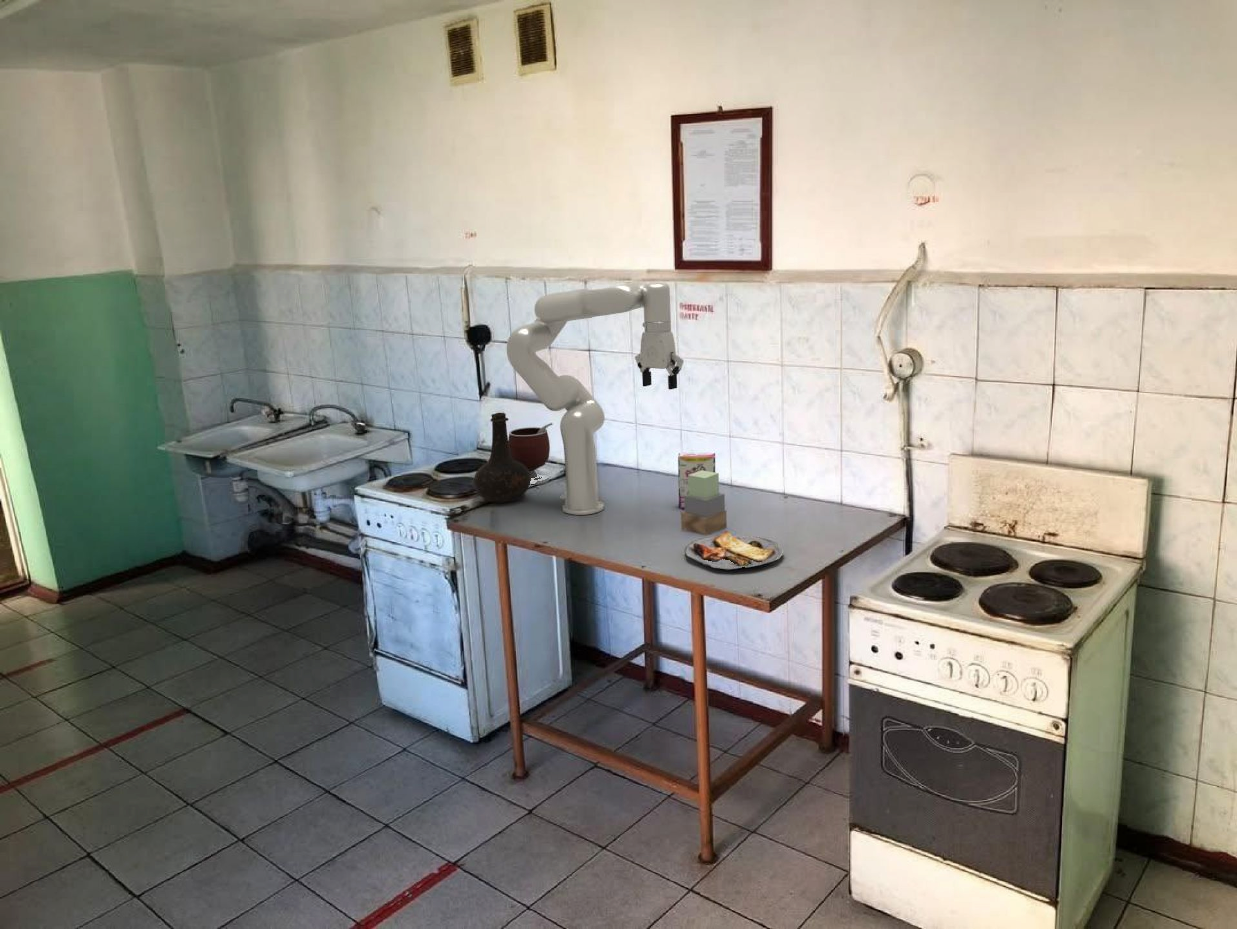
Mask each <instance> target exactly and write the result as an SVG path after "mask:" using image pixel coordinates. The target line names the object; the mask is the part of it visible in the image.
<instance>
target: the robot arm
mask: <svg viewBox="0 0 1237 929" xmlns="http://www.w3.org/2000/svg"><path fill="white" fill-rule="evenodd" d="M670 290H671V287H670V285H669V284H668V283H666V282H653V283H652V282H650V283H645V282H635V281H633V282H629V283H624V284H620V285H615V286H610V287H604V288H598V289H597V288H596V289H588V288H580V289H575V290H568V291H561V292H553V293H548V294H545V295H543V296H540V298H538V299H537V300H536V302H535V304H534V314H535V316H536V318H535V320H534V322H532V323H530V324H529V323H528V324H525V325H522V326H519V327H517V328H515V329H514V330H513V331H512V332H511V333H510V335H509V337H508V340H507V343H506V357H507V359H508V361H509V364H510V365H511V367H512V369H514V370H515V372H516V373H517V374H518V376H520V377H521V378H522V380H523V381H524V382H525V383H526V384H527V386H528V388H530V390H532V392H533V394H535V395H536V397H537V398H538V399H539V400H540V402H541V403H542V404H543V405H544V406H545V407H546V409H547V410H549V411H551V412H559V411H560V412H561V411H562V410H564V409H565V410H566V412H565V413H564V414H563V415H562V417H561V420H560V424H559V428H560V435H561V439H562V444H563V452H564V454H563V455H564V466H565V467H564V469H565V483H566V486H565V487H566V490H564V491H563V492H562V494H561V495H560V496H559V498H560V500H564V502H565V503H564V504H562V511H563V512H564V513H565V514H568V515H577V516H579V515H580V516H583V515H586V516H587V515H591V514H596V513H599V512H601V511H603V510H604V509H605V504H604V502H602V501H600V500H599V487H598V468H597V451H596V450H597V449H596V444H595V442H594V441H595V440H594V438H593V434H594V433H595V432H597V431H599V430H600V429H601V428H602V427H603V425H604V423H605V412H604V410H603V408H602V406H601V405H600V404H599V403H598V401H597V400H596V399H595V398H594V397H593V395H592V394H591V393H590V392H589V390H588V389H587V388H586V387H585V386H584V384H582V382H581V381H580V380H579V379H577V378H575V377H574V376H572V375H568V374H564V375H559V376H558V374H556V372H554V371H553V369H552V368H551V366H550V365H549V364H548V363H547V362H546V361H544V360H543V359H542V358H541V357H539V355H538V354H537V352H540V351H543V350H545V349H548V348H549V347H550V346H551V345H552V344H553V343H554V341H555V340H556V339H557V337H558V336H559V335H560V333H561V331H562V330H563V329H564V327H565V325H566V324H567V323H568V322H570V321H577V320H578V321H579V320H585V319H586V320H587V319H592V318H594V317H604V316H608V315H615V314H616V315H617V314H622V313H627V312H631V311H633V310H637V309H643V323H642V327H643V328H644V332H643V331H642V334H641V339H640V353H638V354H637V355H635V357H634V359H635V361H636V364H637V367H638V368H639V371H640V373H641V374H642V375H641V377H642V379H641V380H642V387H649V386H652V385H653V384H652V372H651V369H660V370H663V369H666V371H667V372H668V374H669V375H667V389H668V390H675V389H677V388H678V375H679V374H680V372H681V370H682V367H683V365H684V362H685V361H684V359H683V358H681V357H680V356H679V355H677V353H676V352H677V351H676V345H675V344H676V343H675V338H674V334H673V332H672V322H671V321H672V317H671V291H670Z"/></svg>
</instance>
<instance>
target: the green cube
mask: <svg viewBox="0 0 1237 929" xmlns="http://www.w3.org/2000/svg"><path fill="white" fill-rule="evenodd" d="M719 478H720V477H719V473H718V472H715V473H714V472H708V471H703V470H701V471H698V472H695V473H693V474H690V475H688V483H689V496H693V497H698V498H703V499H708V498H710V497H713V496H715V495H718V494H719V493H720V488H719V487H720V483H719V482H720V481H719Z"/></svg>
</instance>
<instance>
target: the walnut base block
mask: <svg viewBox="0 0 1237 929" xmlns="http://www.w3.org/2000/svg"><path fill="white" fill-rule="evenodd" d="M680 516H681V518H680V519H681V521H680V522H681V524H680V525H681V530H684V529H685V530H684V531H689V532H692V533H696V534H700V535H704V536H708V535H710V534H712V533H715V532H718V531H720V530H723V529H725V528H728V527H727V525H728V524H727V510H725V511H723V512H721V513H718V514H715V515H713V516H710V517H708V518H705V517H701V516H697V515H692V514H688V513H685V511H682V512H681V513H680Z"/></svg>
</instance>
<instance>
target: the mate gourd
mask: <svg viewBox="0 0 1237 929" xmlns="http://www.w3.org/2000/svg"><path fill="white" fill-rule="evenodd" d="M553 424H554V423H553V422H549V423H548V424H545V425H544V426H542V427H538V426H537V427H535V426H534V427H533V426H532V427H531V426H530V427H529V426H528V427H521V428H515V429H512V430H509V432H508V442H509V448H510V453H511V456H512V458H513V459H514V460H515V461H517V462H520V463H522V464H523V465H524V466H526V468H527V469H528V470H529V473H530V476H531V478H535V477H537V474H538V473H537V472H536V470H538V469H540V468H542V467H543V466H545V465H546V463H547V461H548V460H549V459H550V452H551V451H550V450H551V446H550V437H549V433H548V430H547V428H548V427H550V426H553ZM541 478H542V477H541ZM541 478H540V477H539V478H535V479H534V480H538V479H541ZM549 481H550V477H549V478H547V479H545V480H542V481H537V482H536V483H535V484H537V485H542V484H545V483H548V482H549Z"/></svg>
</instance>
